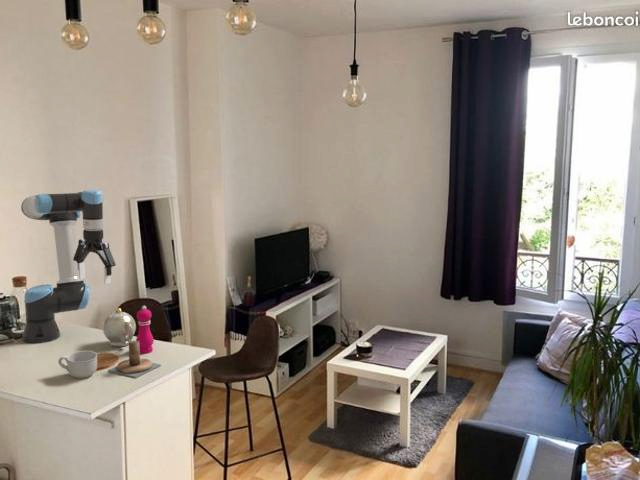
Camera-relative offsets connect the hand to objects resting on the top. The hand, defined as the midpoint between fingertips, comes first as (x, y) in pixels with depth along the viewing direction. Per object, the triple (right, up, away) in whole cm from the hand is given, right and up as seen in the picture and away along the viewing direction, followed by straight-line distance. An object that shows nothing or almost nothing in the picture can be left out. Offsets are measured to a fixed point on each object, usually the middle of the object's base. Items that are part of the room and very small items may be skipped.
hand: (94, 280), depth 238 cm
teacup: (-1, -35, -14) cm, 38 cm away
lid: (+18, -34, -7) cm, 39 cm away
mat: (+18, -34, -7) cm, 39 cm away
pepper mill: (+17, -31, +13) cm, 38 cm away
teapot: (+4, -30, +19) cm, 36 cm away
